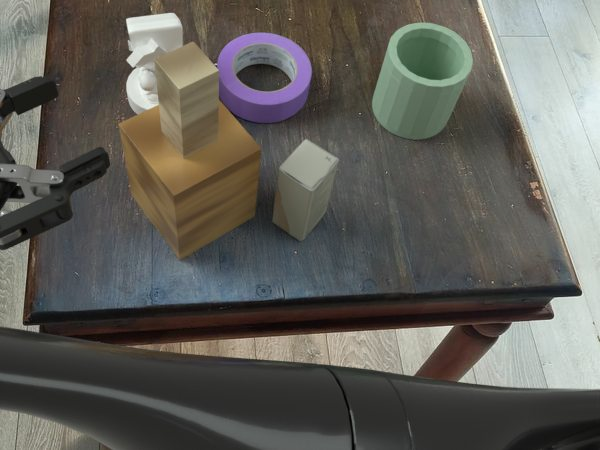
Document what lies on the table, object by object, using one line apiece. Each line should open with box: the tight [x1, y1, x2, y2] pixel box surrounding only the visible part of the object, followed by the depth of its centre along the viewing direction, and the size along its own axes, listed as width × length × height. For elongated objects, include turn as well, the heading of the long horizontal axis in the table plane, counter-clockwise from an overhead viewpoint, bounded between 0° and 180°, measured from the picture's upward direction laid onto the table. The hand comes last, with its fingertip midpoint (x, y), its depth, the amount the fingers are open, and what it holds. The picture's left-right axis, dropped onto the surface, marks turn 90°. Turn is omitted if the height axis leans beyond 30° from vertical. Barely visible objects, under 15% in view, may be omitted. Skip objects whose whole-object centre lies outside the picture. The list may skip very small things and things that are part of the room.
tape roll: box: [216, 32, 313, 124], centre depth 88 cm, size 12×12×4 cm
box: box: [271, 138, 340, 242], centre depth 76 cm, size 5×4×11 cm
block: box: [154, 41, 220, 159], centre depth 64 cm, size 4×4×10 cm
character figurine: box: [125, 12, 184, 115], centre depth 82 cm, size 9×10×12 cm
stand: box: [118, 99, 262, 261], centre depth 74 cm, size 10×10×13 cm
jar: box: [371, 22, 474, 141], centre depth 86 cm, size 10×10×10 cm
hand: (80, 119), depth 57 cm, fingers open, 8 cm apart
